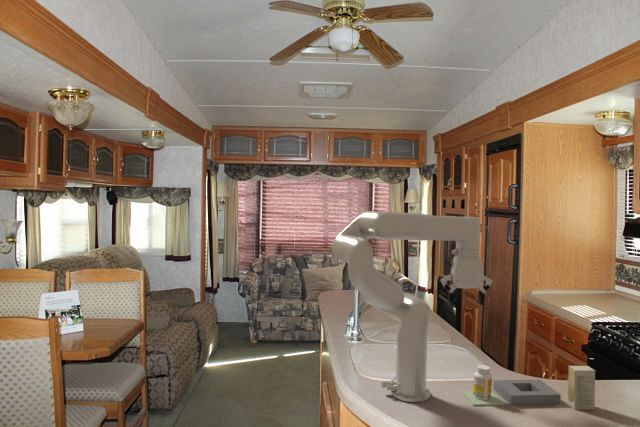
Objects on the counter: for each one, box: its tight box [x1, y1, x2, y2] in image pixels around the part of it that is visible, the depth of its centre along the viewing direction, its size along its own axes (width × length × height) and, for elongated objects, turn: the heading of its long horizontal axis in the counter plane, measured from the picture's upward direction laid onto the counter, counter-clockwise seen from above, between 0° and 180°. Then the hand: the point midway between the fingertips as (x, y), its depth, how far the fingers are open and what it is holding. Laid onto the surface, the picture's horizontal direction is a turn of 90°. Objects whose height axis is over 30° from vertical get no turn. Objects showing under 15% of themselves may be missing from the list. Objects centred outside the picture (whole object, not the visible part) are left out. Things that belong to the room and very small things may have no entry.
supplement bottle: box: [472, 364, 493, 400], centre depth 151 cm, size 5×5×10 cm
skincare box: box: [567, 365, 596, 411], centre depth 146 cm, size 6×4×12 cm
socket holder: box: [492, 379, 562, 406], centre depth 153 cm, size 16×12×3 cm
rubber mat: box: [460, 390, 506, 407], centre depth 151 cm, size 10×10×1 cm
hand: (465, 304), depth 161 cm, fingers open, 9 cm apart
